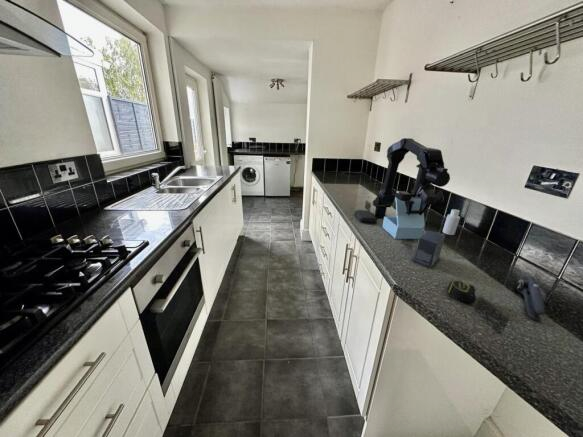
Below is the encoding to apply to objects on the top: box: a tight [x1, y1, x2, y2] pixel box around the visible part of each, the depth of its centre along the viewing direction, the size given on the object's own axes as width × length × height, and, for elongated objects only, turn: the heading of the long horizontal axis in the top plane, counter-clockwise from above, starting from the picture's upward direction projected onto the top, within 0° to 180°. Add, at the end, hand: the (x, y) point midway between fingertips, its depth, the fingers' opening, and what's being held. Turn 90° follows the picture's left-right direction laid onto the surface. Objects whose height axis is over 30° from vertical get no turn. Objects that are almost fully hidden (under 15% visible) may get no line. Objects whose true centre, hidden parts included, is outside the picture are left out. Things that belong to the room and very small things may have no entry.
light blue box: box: [382, 216, 425, 240], centre depth 112 cm, size 14×13×6 cm
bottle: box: [442, 208, 461, 236], centre depth 113 cm, size 5×5×12 cm
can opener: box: [515, 276, 547, 321], centre depth 67 cm, size 18×7×6 cm, turn 140°
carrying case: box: [353, 209, 378, 224], centre depth 128 cm, size 11×3×15 cm
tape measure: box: [447, 280, 477, 305], centre depth 70 cm, size 7×7×4 cm
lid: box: [394, 197, 426, 228], centre depth 104 cm, size 14×13×4 cm
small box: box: [413, 229, 447, 269], centre depth 88 cm, size 11×6×10 cm, turn 135°
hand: (414, 214), depth 102 cm, fingers closed on lid, 5 cm apart
